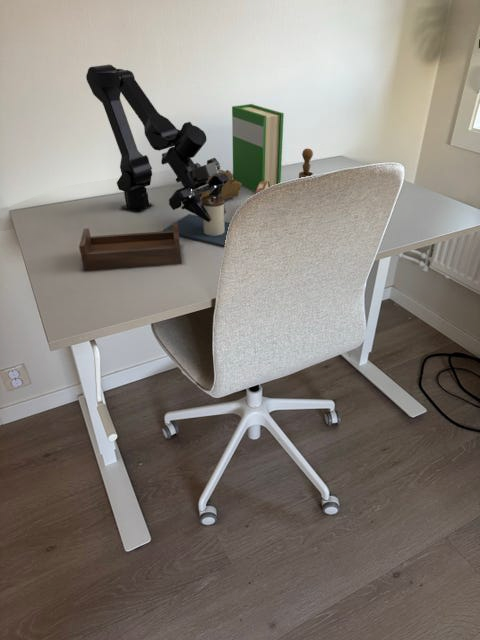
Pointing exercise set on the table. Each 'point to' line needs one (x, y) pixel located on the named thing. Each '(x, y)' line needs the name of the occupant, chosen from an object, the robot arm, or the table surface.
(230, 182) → the wooden carving
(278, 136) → the hardback book
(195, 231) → the mat
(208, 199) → the canister
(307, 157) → the brown wooden pawn
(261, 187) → the tin
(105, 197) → the table surface
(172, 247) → the brown wooden tray
